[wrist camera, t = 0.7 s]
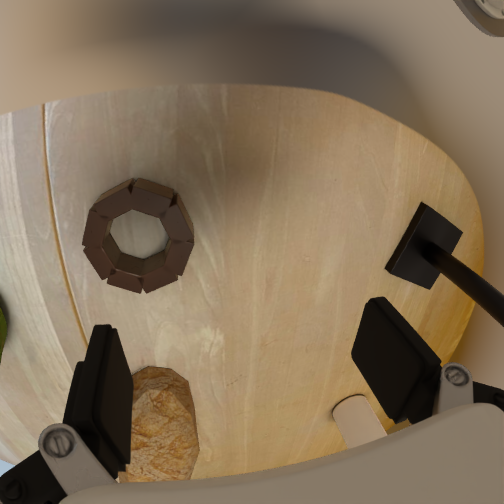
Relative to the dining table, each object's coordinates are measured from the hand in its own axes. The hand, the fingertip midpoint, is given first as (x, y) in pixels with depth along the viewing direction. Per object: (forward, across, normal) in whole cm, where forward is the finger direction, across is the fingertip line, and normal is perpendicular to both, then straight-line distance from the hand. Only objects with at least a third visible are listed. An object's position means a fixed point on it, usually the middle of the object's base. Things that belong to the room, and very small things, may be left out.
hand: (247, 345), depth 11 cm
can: (+18, -22, +36) cm, 46 cm away
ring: (+18, +6, +2) cm, 19 cm away
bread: (+18, +11, +37) cm, 43 cm away
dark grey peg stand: (+18, -26, +6) cm, 32 cm away
